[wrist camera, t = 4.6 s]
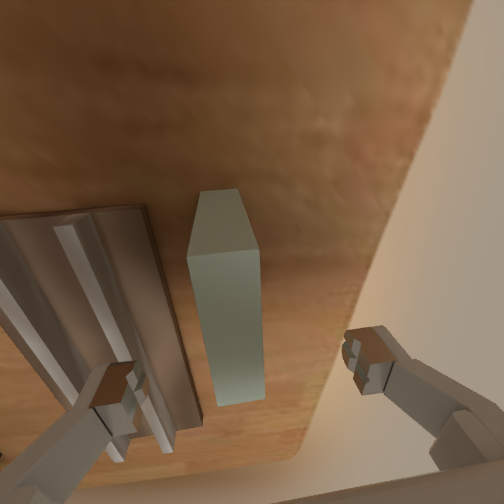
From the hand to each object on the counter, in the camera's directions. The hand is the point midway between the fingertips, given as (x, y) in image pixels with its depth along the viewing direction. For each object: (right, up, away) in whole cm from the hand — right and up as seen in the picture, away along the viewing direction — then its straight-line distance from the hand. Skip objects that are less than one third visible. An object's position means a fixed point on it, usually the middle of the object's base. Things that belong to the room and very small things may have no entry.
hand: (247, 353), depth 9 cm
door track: (-12, -5, +12) cm, 18 cm away
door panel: (-2, +4, +9) cm, 10 cm away
